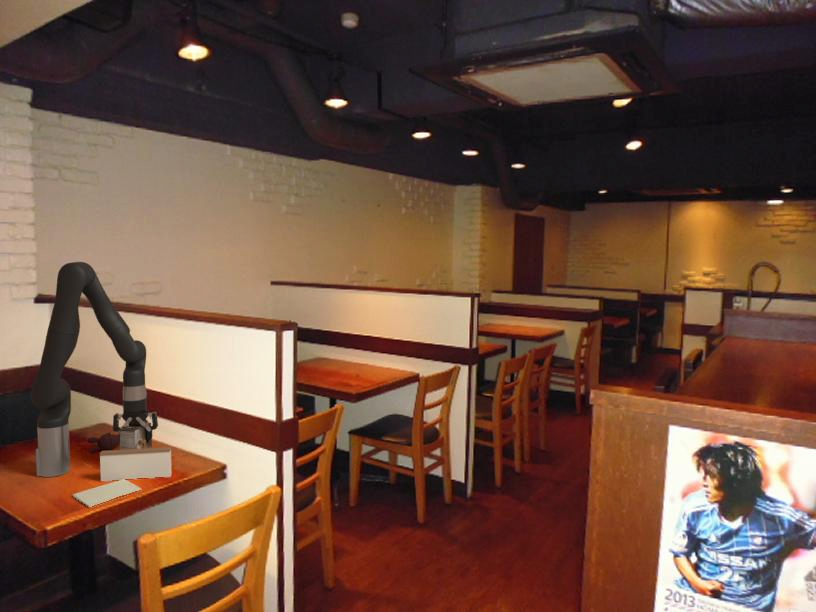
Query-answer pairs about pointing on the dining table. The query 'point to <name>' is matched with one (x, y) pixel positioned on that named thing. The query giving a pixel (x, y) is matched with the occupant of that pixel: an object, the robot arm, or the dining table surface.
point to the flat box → (135, 463)
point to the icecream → (104, 442)
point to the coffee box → (134, 438)
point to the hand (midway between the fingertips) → (136, 441)
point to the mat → (105, 492)
